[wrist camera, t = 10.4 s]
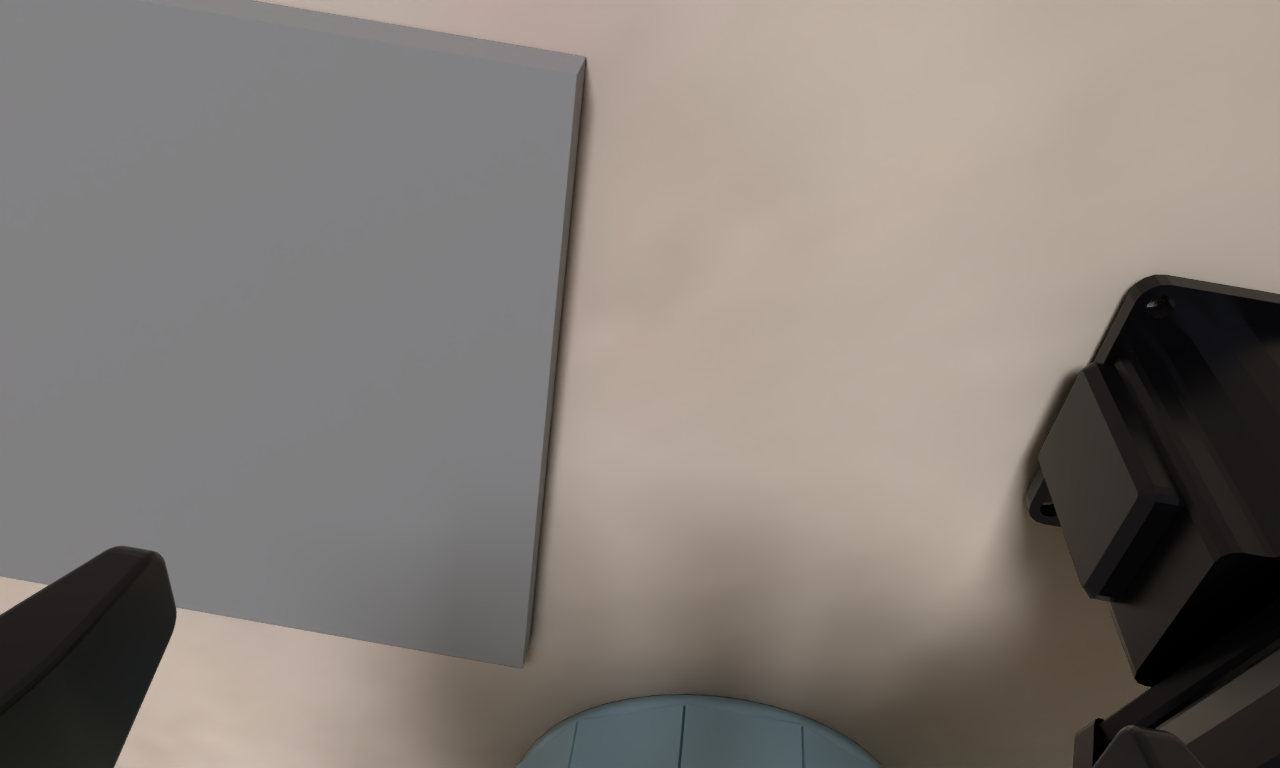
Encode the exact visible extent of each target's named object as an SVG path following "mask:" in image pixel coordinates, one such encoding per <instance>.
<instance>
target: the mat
mask: <svg viewBox="0 0 1280 768" xmlns="http://www.w3.org/2000/svg"><path fill="white" fill-rule="evenodd" d="M585 61H586V57H583V56H577V55H572V54H566V53H560V52H554V51H548V50H542V49H536V48H530V47H524V46H518V45H512V44H506V43H500V42H495V41H489V40H483V39H477V38H471V37H465V36H459V35H453V34H447V33H441V32H435V31H429V30H423V29H418V28H412V27H406V26H400V25H394V24H388V23H382V22H376V21H370V20H364V19H358V18H352V17H347V16H341V15H335V14H329V13H323V12H317V11H311V10H305V9H299V8H293V7H287V6H281V5H275V4H270V3H264V2H258V1H252V0H0V576H2V577H7V578H13V579H18V580H24V581H30V582H35V583H41V584H47V585H50V584H52V583H53V582H55V581H56V580H58V579H60V578H61V577H63V576H65V575H66V574H68V573H69V572H71V571H73V570H74V569H76V568H78V567H79V566H81V565H82V564H84V563H86V562H87V561H89V560H91V559H92V558H94V557H95V556H97V555H99V554H100V553H102V552H104V551H105V550H107V549H110V548H113V547H115V546H129V547H134V548H140V549H145V550H151V551H155V552H158V553H159V554H160V555H161V556H162V557H163V558H164V560H165V563H166V567H167V571H168V575H169V579H170V584H171V588H172V592H173V596H174V600H175V604H176V607H177V608H182V609H188V610H193V611H199V612H205V613H210V614H216V615H222V616H227V617H233V618H239V619H244V620H250V621H256V622H261V623H267V624H272V625H278V626H284V627H289V628H295V629H301V630H306V631H312V632H318V633H323V634H329V635H335V636H340V637H346V638H352V639H357V640H363V641H368V642H374V643H380V644H385V645H391V646H397V647H402V648H408V649H414V650H419V651H425V652H431V653H436V654H442V655H447V656H453V657H459V658H464V659H470V660H476V661H481V662H487V663H493V664H498V665H504V666H510V667H515V668H521V669H522V668H523V664H524V660H525V657H526V653H527V649H528V645H529V641H530V631H531V621H532V610H533V600H534V590H535V579H536V569H537V559H538V548H539V538H540V528H541V517H542V507H543V496H544V486H545V476H546V465H547V455H548V445H549V434H550V424H551V413H552V403H553V393H554V382H555V372H556V362H557V351H558V341H559V331H560V320H561V310H562V299H563V289H564V279H565V268H566V258H567V248H568V237H569V227H570V217H571V206H572V196H573V185H574V175H575V165H576V154H577V144H578V134H579V123H580V113H581V102H582V92H583V82H584V71H585Z"/></svg>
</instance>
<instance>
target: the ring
mask: <svg viewBox="0 0 1280 768" xmlns="http://www.w3.org/2000/svg"><path fill="white" fill-rule="evenodd" d="M515 768H883V767H882V765H881V764H880V763H879V762H878V761H877V760H876V759H874V758H873V757H872V756H871V755H870V754H869V753H868V752H867V751H865V750H864V749H863V748H861V747H860V746H859V745H857V744H856V743H854V742H853V741H851V740H850V739H848V738H847V737H845V736H844V735H842V734H840V733H838V732H836V731H834V730H832V729H830V728H829V727H827V726H825V725H823V724H820V723H818V722H816V721H813V720H811V719H808V718H806V717H803V716H801V715H799V714H795V713H792V712H789V711H786V710H783V709H779V708H776V707H773V706H769V705H764V704H760V703H755V702H750V701H746V700H740V699H732V698H725V697H718V696H703V695H658V696H649V697H640V698H632V699H627V700H622V701H618V702H613V703H608V704H605V705H602V706H598V707H595V708H592V709H589V710H586V711H583V712H581V713H579V714H577V715H575V716H572V717H570V718H568V719H566V720H564V721H562V722H561V723H559V724H558V725H556V726H554V727H553V728H551V729H550V730H548V731H547V732H546V733H545V734H544V735H543V736H541V737H540V738H539V739H538V740H537V741H536V742H535V743H534V744H533V745H532V747H531V748H530V749H529V751H528V752H527V753H526V754H525V756H524V759H523V761H522V762H521V763H519V764H518V765H517V766H516V767H515Z"/></svg>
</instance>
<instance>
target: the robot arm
mask: <svg viewBox="0 0 1280 768" xmlns="http://www.w3.org/2000/svg"><path fill="white" fill-rule="evenodd" d="M1158 296H1167V299H1166V300H1165V301H1164V302H1163V303H1162V304H1161V305H1159V306H1157V307H1147V304H1148V303H1149V302H1150V301H1151V300H1152V299H1154V298H1156V297H1158ZM1038 460H1039V463H1040V468H1039V470H1038V471H1037V473H1036V475H1035V477H1034V479H1033V481H1032V483H1031V485H1030V487H1029V489H1028V491H1027V493H1026V498H1025V501H1026V504H1027V507H1028V510H1029V513H1030V516H1031V517H1032V518H1033V519H1034V520H1035V521H1036V522H1039V523H1042V524H1046V525H1052V526H1058V527H1062V530H1063V533H1064V536H1065V539H1066V542H1067V545H1068V548H1069V551H1070V554H1071V557H1072V560H1073V563H1074V565H1075V568H1076V571H1077V574H1078V577H1079V580H1080V583H1081V585H1082V587H1083V588H1084V590H1085V591H1086V593H1087V594H1088V596H1089V597H1090V598H1092V599H1098V600H1103V601H1107V604H1108V607H1109V609H1110V612H1111V615H1112V618H1113V620H1114V623H1115V626H1116V629H1117V631H1118V634H1119V637H1120V640H1121V642H1122V645H1123V648H1124V651H1125V653H1126V656H1127V659H1128V662H1129V664H1130V667H1131V670H1132V673H1133V675H1134V678H1135V679H1136V681H1137V682H1138V683H1139V684H1142V685H1144V686H1149V687H1151V688H1150V689H1148V690H1147V691H1145V692H1144V693H1143V694H1141V695H1140V696H1138V697H1137V698H1135V699H1134V700H1133V701H1131V702H1130V703H1128V704H1127V705H1125V706H1124V707H1123V708H1121V709H1120V710H1118V711H1117V712H1116V713H1114V714H1113V715H1111V716H1110V717H1108V718H1107V719H1106V720H1103V719H1100V718H1098V719H1095V720H1094V721H1093V722H1091V723H1090V724H1088V725H1087V726H1086V727H1084V728H1083V729H1081V730H1080V731H1078V732H1077V733H1076V735H1075V744H1074V759H1073V768H1280V294H1275V293H1269V292H1264V291H1258V290H1252V289H1246V288H1240V287H1234V286H1228V285H1222V284H1217V283H1211V282H1205V281H1199V280H1193V279H1187V278H1181V277H1176V276H1170V275H1152V276H1149V277H1146V278H1144V279H1142V280H1141V281H1139V282H1138V283H1136V284H1135V285H1134V286H1133V287H1132V289H1131V290H1130V291H1129V293H1128V295H1127V297H1126V299H1125V301H1124V303H1123V305H1122V307H1121V309H1120V311H1119V313H1118V314H1117V316H1116V318H1115V320H1114V322H1113V324H1112V326H1111V328H1110V330H1109V332H1108V334H1107V336H1106V338H1105V340H1104V342H1103V344H1102V346H1101V348H1100V350H1099V352H1098V354H1097V356H1096V358H1095V360H1094V362H1093V363H1090V364H1089V365H1087V366H1086V367H1085V368H1083V369H1082V370H1081V371H1080V372H1079V374H1078V376H1077V378H1076V380H1075V382H1074V384H1073V386H1072V388H1071V390H1070V392H1069V394H1068V396H1067V398H1066V400H1065V402H1064V404H1063V406H1062V408H1061V410H1060V412H1059V414H1058V416H1057V418H1056V420H1055V422H1054V424H1053V426H1052V428H1051V430H1050V432H1049V434H1048V436H1047V438H1046V440H1045V442H1044V444H1043V446H1042V448H1041V450H1040V452H1039V454H1038ZM1048 501H1053V504H1050V505H1043V504H1044V503H1045V502H1048ZM175 622H176V604H175V600H174V596H173V592H172V588H171V584H170V579H169V575H168V571H167V567H166V563H165V560H164V558H163V557H162V556H161V555H160V554H159V553H158V552H155V551H151V550H145V549H140V548H134V547H129V546H115V547H113V548H110V549H107V550H105V551H104V552H102V553H100V554H99V555H97V556H95V557H94V558H92V559H91V560H89V561H87V562H86V563H84V564H82V565H81V566H79V567H78V568H76V569H74V570H73V571H71V572H69V573H68V574H66V575H65V576H63V577H61V578H60V579H58V580H56V581H55V582H53V583H52V584H50V585H48V586H47V587H45V588H43V589H42V590H40V591H39V592H37V593H35V594H34V595H32V596H30V597H29V598H27V599H25V600H24V601H22V602H21V603H19V604H17V605H16V606H14V607H12V608H11V609H9V610H8V611H6V612H4V613H3V614H1V615H0V768H114V766H115V764H116V762H117V760H118V757H119V755H120V753H121V751H122V748H123V746H124V744H125V741H126V739H127V737H128V734H129V732H130V730H131V728H132V725H133V723H134V721H135V718H136V716H137V714H138V711H139V709H140V707H141V705H142V702H143V700H144V698H145V695H146V693H147V691H148V689H149V686H150V684H151V682H152V679H153V677H154V675H155V672H156V670H157V668H158V666H159V663H160V661H161V659H162V656H163V654H164V652H165V649H166V647H167V645H168V643H169V640H170V638H171V636H172V633H173V630H174V627H175Z"/></svg>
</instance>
